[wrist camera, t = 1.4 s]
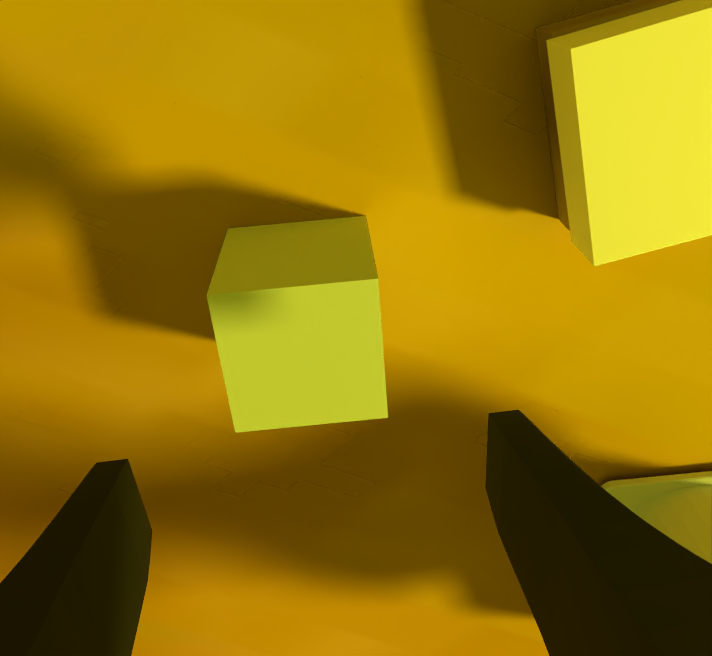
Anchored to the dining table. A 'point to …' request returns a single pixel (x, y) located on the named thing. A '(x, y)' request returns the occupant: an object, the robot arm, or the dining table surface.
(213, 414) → the dining table surface
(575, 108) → the cream slab
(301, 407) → the sage block
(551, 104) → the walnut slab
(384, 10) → the dining table surface
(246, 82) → the dining table surface
